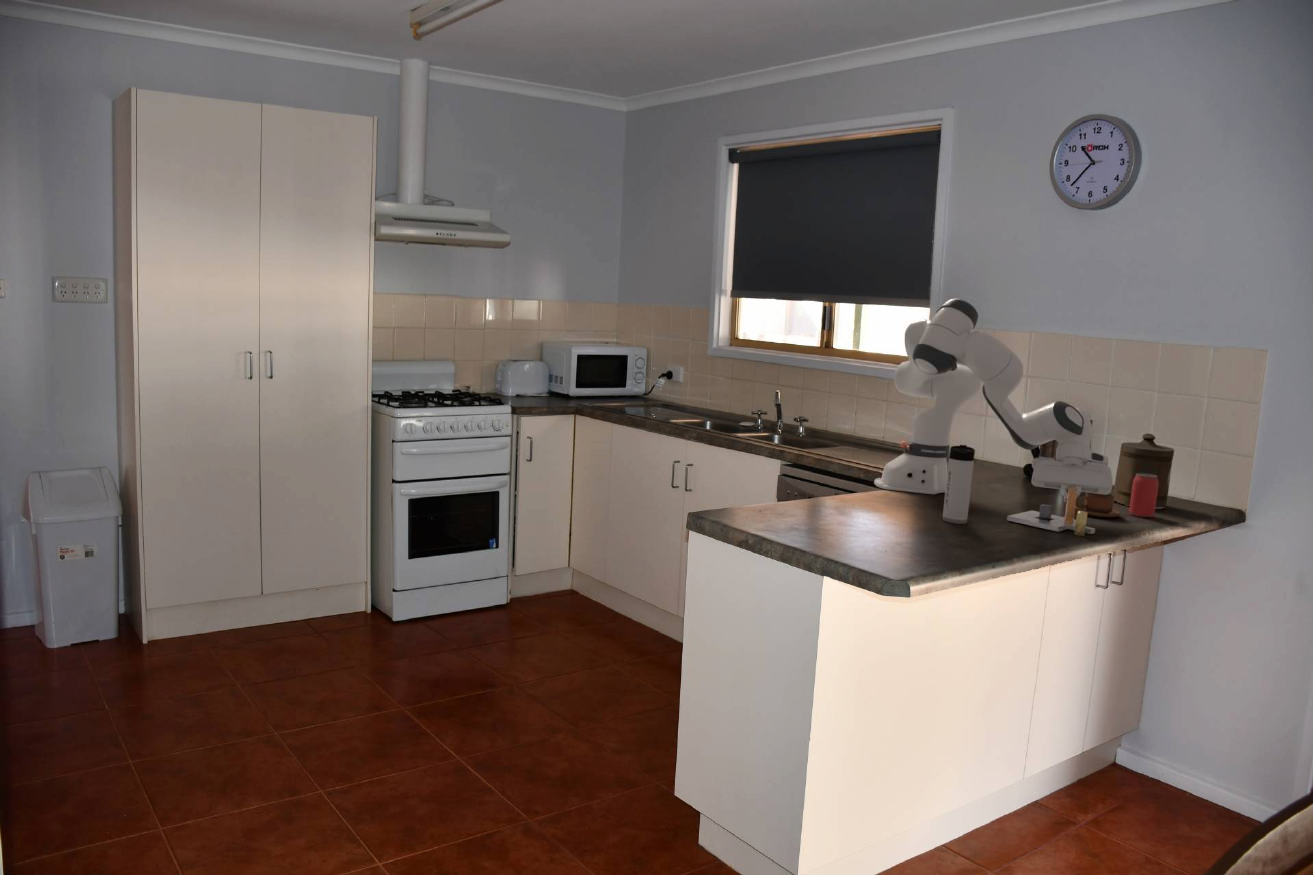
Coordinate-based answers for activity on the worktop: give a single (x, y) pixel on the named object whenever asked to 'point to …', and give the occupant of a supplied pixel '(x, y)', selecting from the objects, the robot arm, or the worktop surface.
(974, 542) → the worktop surface
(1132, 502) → the beer can
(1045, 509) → the grey rectangular block
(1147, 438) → the wooden container
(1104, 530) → the worktop surface
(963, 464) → the travel mug
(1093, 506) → the cup and saucer
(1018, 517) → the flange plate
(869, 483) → the worktop surface
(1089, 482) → the robot arm
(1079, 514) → the brass dowel
